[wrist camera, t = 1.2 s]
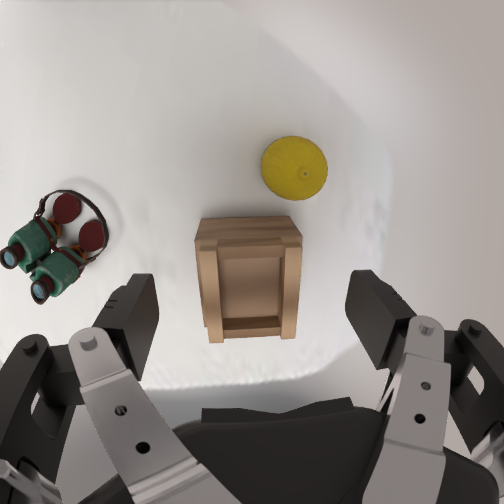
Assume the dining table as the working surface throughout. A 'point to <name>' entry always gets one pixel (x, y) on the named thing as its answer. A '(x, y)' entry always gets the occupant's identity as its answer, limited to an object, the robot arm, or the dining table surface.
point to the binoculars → (54, 246)
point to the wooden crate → (249, 276)
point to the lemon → (294, 168)
